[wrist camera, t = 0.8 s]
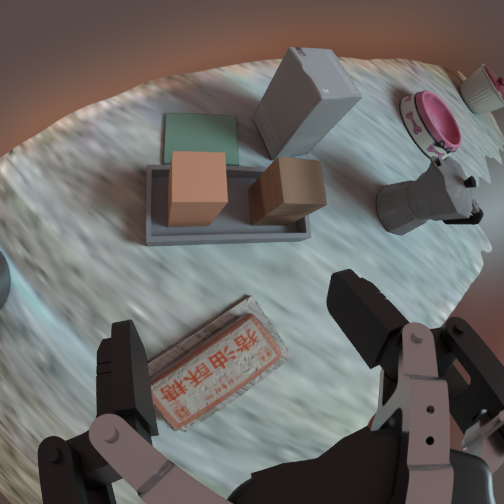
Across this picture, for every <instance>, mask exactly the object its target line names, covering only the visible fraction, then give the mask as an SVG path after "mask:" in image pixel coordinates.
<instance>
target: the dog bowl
mask: <svg viewBox="0 0 504 504" xmlns="http://www.w3.org/2000/svg"><path fill="white" fill-rule="evenodd" d="M399 107H400V114H401V117H402V120H403V123H404V125H405V128H406V130H407V132H408V133H409V135H410V137H411V138H412V140H413V141H414V143H415V144H416V145H417V147H418V148H419V149H420V150H421V151H422V152H423V154H424V155H426V156H427V157H428V158H429V159H430V158H431V157H432V156H436V157H439V158H441V159H442V160H443V159H445V158H446V157H448V156H450V155H451V154H452V153H453V152H455V151H456V150H457V148H458V147H459V146H460V144H461V133H460V130H459V127H458V124H457V122H456V120H455V118H454V116H453V114H452V113H451V111H450V110H449V108H448V107H447V106H446V104H445V103H444V102H443V101H442V100H441V99H440V98H439V97H438V96H437V95H435V94H434V93H432V92H430V91H422V92H418V93H416V94H413V95H410V96H406V97H403V98H402V99H401V100H400V105H399Z"/></svg>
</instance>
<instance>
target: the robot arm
mask: <svg viewBox="0 0 504 504" xmlns="http://www.w3.org/2000/svg"><path fill="white" fill-rule="evenodd" d="M9 289H10V272H9V267H8V264H7V261H6V259H5V257H4V255H3V254H2V252H1V251H0V309H1V308H2V307H3V305H4V304H5V302H6V300H7V297H8V294H9ZM327 308H328V311H329V313H330V315H331V316H332V317H333V319H334V320H335V321H336V323H337V324H338V325H339V327H340V328H341V329H342V331H343V332H344V333H345V335H346V336H347V338H348V339H349V340H350V342H351V343H352V344H353V346H354V347H355V348H356V350H357V351H358V353H359V354H360V355H361V357H362V358H363V360H364V361H365V362H366V364H367V365H368V366H369V368H370V369H372V368H374V367H376V366H378V365H380V366H381V367H382V369H381V372H380V386H379V399H378V409H377V413H376V416H375V418H374V421H373V424H372V428H371V430H370V429H369V427H368V426H366V427H364V428H362V429H360V430H359V431H357V432H355V433H353V434H351V435H349V436H347V437H345V438H343V439H341V440H340V441H339V442H338V443H336V444H335V445H334V446H333V447H331V448H330V449H329V450H328V451H326V452H325V453H324V454H322V455H321V456H320V457H318V458H316V459H310V460H304V461H297V462H290V463H282V464H279V465H276V466H273V467H270V468H267V469H264V470H261V471H257V472H254V473H251V479H249V480H247V481H245V482H244V483H243V484H241V485H240V486H239V487H238V488H236V489H235V490H234V491H233V492H232V494H231V495H230V496H229V497H228V499H227V500H226V499H224V498H223V497H221V496H220V495H218V494H216V493H215V492H213V491H212V490H210V489H209V488H207V487H206V486H204V485H203V484H201V483H200V482H198V481H197V480H196V479H194V478H193V477H191V476H190V475H189V474H187V473H186V472H185V471H183V470H182V469H181V468H179V467H178V466H177V465H175V464H174V463H173V462H171V461H170V460H168V459H167V458H166V457H165V456H163V455H162V454H161V453H160V452H159V451H157V450H156V449H155V448H154V447H153V445H152V440H151V436H157V435H159V433H158V428H157V423H156V417H155V412H154V406H153V399H152V393H151V386H150V378H149V371H148V362H147V356H146V352H145V349H144V346H143V343H142V341H141V339H140V337H139V335H138V332H137V330H136V328H135V325H134V323H133V321H132V320H126V321H120V322H115V323H112V329H111V338H107V339H103V340H102V342H101V344H100V346H99V348H98V350H97V370H96V373H97V376H96V398H97V415H96V419H95V420H94V421H93V422H92V424H91V426H90V429H89V430H88V431H87V432H85V433H83V434H81V435H79V436H76V437H74V438H71V439H69V440H67V441H65V440H63V439H62V438H60V437H57V436H50V437H47V438H45V439H44V440H43V441H42V442H41V444H40V445H39V448H38V466H39V476H40V485H41V492H42V498H43V504H116V500H115V496H114V492H113V488H112V484H111V483H113V482H115V481H118V480H120V479H122V478H124V479H125V480H126V481H127V482H128V483H129V484H130V485H131V486H132V487H133V488H134V489H135V490H136V491H137V492H138V495H139V497H140V498H141V499H142V500H143V501H144V502H145V503H146V504H496V503H495V499H494V494H493V484H492V483H493V482H492V474H493V473H494V472H495V471H496V470H497V469H498V468H499V467H500V465H501V464H502V463H503V462H504V366H503V365H502V364H501V362H500V361H499V360H498V359H497V357H496V356H495V355H494V354H493V352H492V351H491V350H490V349H489V347H488V346H487V345H486V344H485V343H484V341H483V340H482V339H481V338H480V337H479V336H478V334H477V333H476V332H475V331H474V330H473V329H472V327H471V326H470V325H469V324H468V323H467V322H466V321H465V320H463V319H461V318H458V317H451V318H449V319H448V320H447V322H446V324H445V325H444V327H441V328H435V329H429V328H427V327H426V326H425V325H423V324H420V323H415V322H414V323H410V322H409V321H408V320H407V319H406V318H405V317H404V316H403V315H402V314H401V313H400V312H399V311H398V310H397V308H396V307H395V306H394V305H393V304H392V303H391V302H390V301H389V300H387V299H386V297H385V296H384V295H383V294H382V293H380V290H379V289H378V288H377V287H376V286H375V285H374V284H373V283H371V282H369V281H368V280H366V279H364V278H359V277H358V276H357V275H356V274H355V272H354V271H352V270H351V269H346V270H343V271H339V272H336V273H333V274H332V276H331V280H330V285H329V290H328V295H327ZM456 359H458V361H459V362H460V363H461V364H462V366H463V367H464V368H465V370H466V371H467V372H468V374H469V375H470V378H471V383H470V385H468V384H467V383H466V381H465V380H464V378H463V377H462V376H461V374H460V373H459V372H458V370H457V369H456V368H455V366H454V365H453V362H454V361H455V360H456ZM449 412H450V413H451V415H452V416H453V418H454V420H455V421H456V423H457V424H458V426H459V428H460V429H461V431H462V432H463V434H464V436H465V438H464V440H463V441H462V443H461V447H462V449H463V450H464V451H468V453H465V452H461V451H457V450H454V449H450V420H449V419H450V418H449Z"/></svg>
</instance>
